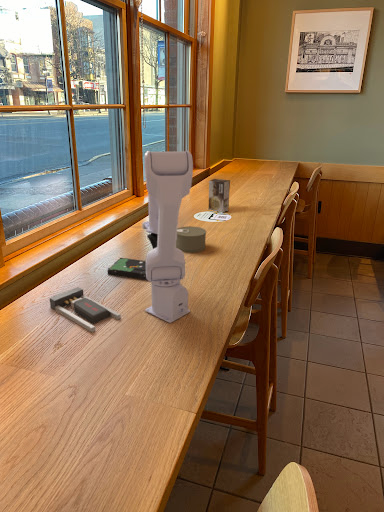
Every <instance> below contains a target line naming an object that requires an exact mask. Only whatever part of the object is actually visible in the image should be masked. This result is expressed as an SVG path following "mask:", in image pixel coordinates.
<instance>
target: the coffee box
mask: <svg viewBox="0 0 384 512" xmlns="http://www.w3.org/2000/svg"><path fill="white" fill-rule="evenodd" d="M230 186H231V180H229V179H220V178H213V179H209V180H208V210H213V211H218V212H225V211H228V210H229V209H230V207H229V206H230V205H229V204H230ZM218 212H217V213H218ZM228 212H229V211H228ZM225 213H226V212H225Z"/></svg>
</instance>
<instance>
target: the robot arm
mask: <svg viewBox="0 0 384 512" xmlns="http://www.w3.org/2000/svg"><path fill="white" fill-rule="evenodd" d="M193 161H194V160H193V155H192V153H191V152H190V150H185V151H150V150H147V151H146V152H145V153H144V176H145V181H146V182H145V184H146V185H145V186H146V191H147V194H148V198H147V199H148V201H147V202H148V203H147V204H148V221H143V222H142V223H141V224H142V230H145V232H146V233H147V239H148V241H149V242H150V245H151V247H152V249H151V250H149V251H148V252H147V254H146V255H145V261H146V278H147V280H146V281H147V282H150V285H151V306H149V307H147V308H145V309H144V311H145V312H146V313H149V314H150V315H152V316H154V317H157V318H159V319H161V320H163V321H165V322H167V323H169V324H171V323H173V322H175V321H177V320H178V319H180V318H182V317H184V316H185V315H187V314H189V313H190V312H191V310H190V309H189V291H188V289H187V288H186V286H184V285H182V284H181V281H182V280H184V278H185V276H186V259H185V254H184V252H182V250H180V249H178V248H176V240H177V229H178V225H179V215H180V208H181V203H182V200H183V199H184V198H185V197H187V196H188V195H189V194H190V193H191V191H190V190H191V188H192V183H193V174H194V173H193V172H194V171H193V170H194V163H193ZM148 233H149V234H148Z"/></svg>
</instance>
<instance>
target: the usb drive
mask: <svg viewBox="0 0 384 512" xmlns="http://www.w3.org/2000/svg"><path fill="white" fill-rule="evenodd" d="M92 300H93V299H92ZM92 300H89V299H87V298H79V299H76V300H73V301H71V304H70V307H71V308H73V310H74V313H75V314H76V315H78V316H79V317H80V318H81V317H82V319H83V320H84V319H85V321H87V322H88V323H90V324H91V325H96V324H97V323H99V322H101V321H104V320H107V319H108V318H110V317H111V316H110V312H109V311H108V310H107V309H105V308H104V307H102V306H100V305H98V304H97V303H95V302H93V301H92Z"/></svg>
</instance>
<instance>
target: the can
mask: <svg viewBox="0 0 384 512" xmlns="http://www.w3.org/2000/svg"><path fill="white" fill-rule="evenodd" d="M206 235H207V231H206V229H205V228H202V227H199V226H181V227H177V240H176V248H178V249H180V250H182V252H183V254H184V253H185V254H186V253H187V254H197V253H201V252H203V251H205V250H206V240H207V239H206V238H207V237H206Z"/></svg>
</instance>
